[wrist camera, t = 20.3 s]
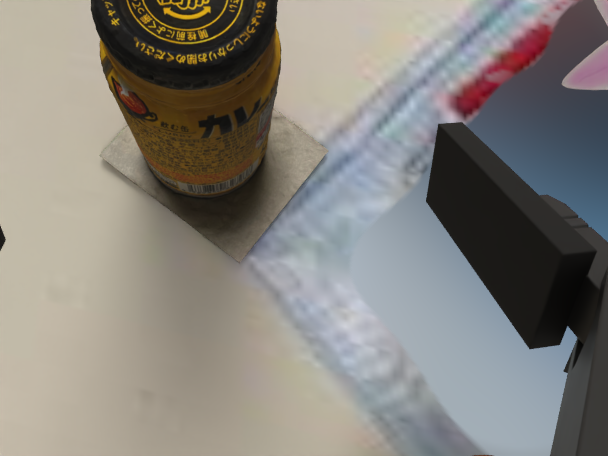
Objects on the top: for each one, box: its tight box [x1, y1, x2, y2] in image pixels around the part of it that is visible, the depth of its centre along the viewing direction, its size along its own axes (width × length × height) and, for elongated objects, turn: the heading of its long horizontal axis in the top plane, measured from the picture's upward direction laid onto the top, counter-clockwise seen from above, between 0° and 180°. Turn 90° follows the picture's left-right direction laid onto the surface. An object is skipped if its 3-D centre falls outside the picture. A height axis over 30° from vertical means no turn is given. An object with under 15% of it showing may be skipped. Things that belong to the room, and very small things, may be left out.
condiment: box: [91, 0, 328, 263], centre depth 21 cm, size 7×8×12 cm
